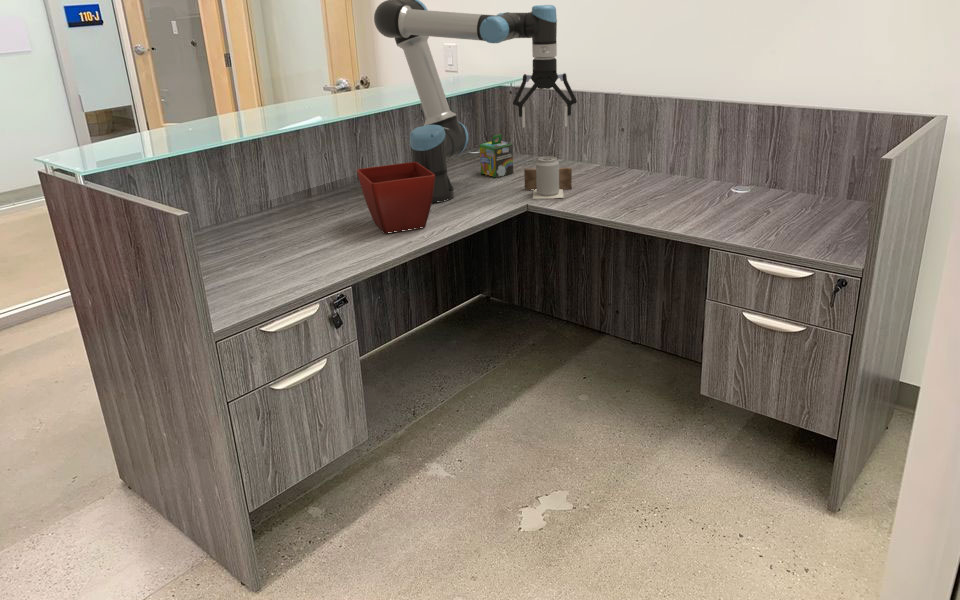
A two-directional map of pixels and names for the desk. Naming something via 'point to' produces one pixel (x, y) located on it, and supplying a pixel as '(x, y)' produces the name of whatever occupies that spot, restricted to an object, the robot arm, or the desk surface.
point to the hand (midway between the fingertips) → (544, 126)
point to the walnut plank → (564, 178)
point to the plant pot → (398, 195)
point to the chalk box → (496, 157)
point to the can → (547, 176)
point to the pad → (538, 196)
